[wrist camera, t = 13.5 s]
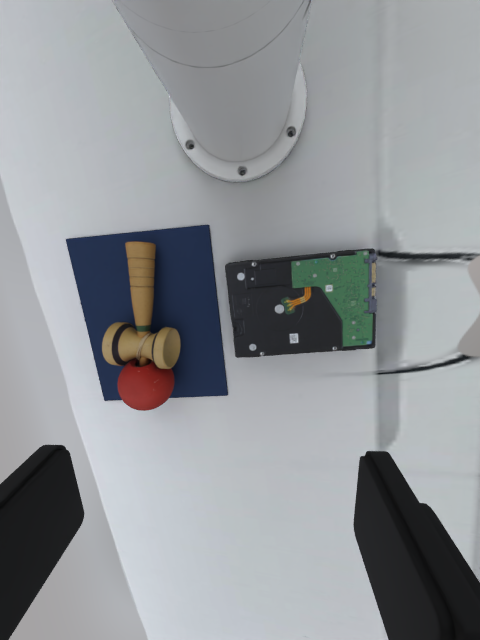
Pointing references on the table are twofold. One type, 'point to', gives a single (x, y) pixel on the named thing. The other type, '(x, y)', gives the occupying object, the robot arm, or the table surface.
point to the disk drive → (303, 303)
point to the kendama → (142, 339)
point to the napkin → (155, 303)
